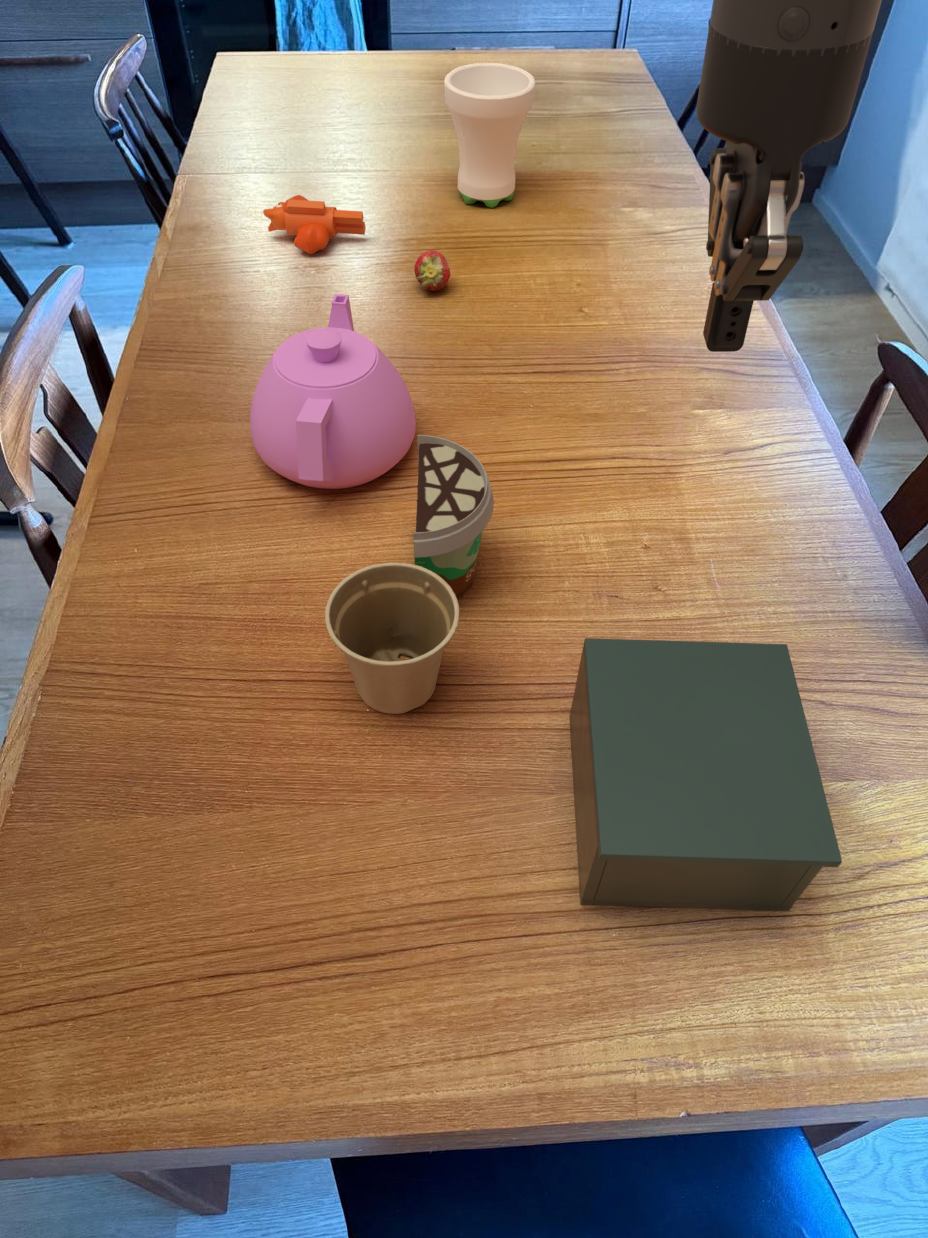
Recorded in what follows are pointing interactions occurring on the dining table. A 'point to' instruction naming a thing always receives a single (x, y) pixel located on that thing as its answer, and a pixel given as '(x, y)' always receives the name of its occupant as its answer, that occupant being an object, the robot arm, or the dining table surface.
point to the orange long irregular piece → (313, 222)
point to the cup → (488, 126)
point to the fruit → (432, 270)
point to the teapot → (331, 407)
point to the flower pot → (393, 632)
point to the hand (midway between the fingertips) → (721, 344)
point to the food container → (450, 511)
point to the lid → (703, 755)
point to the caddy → (664, 879)
